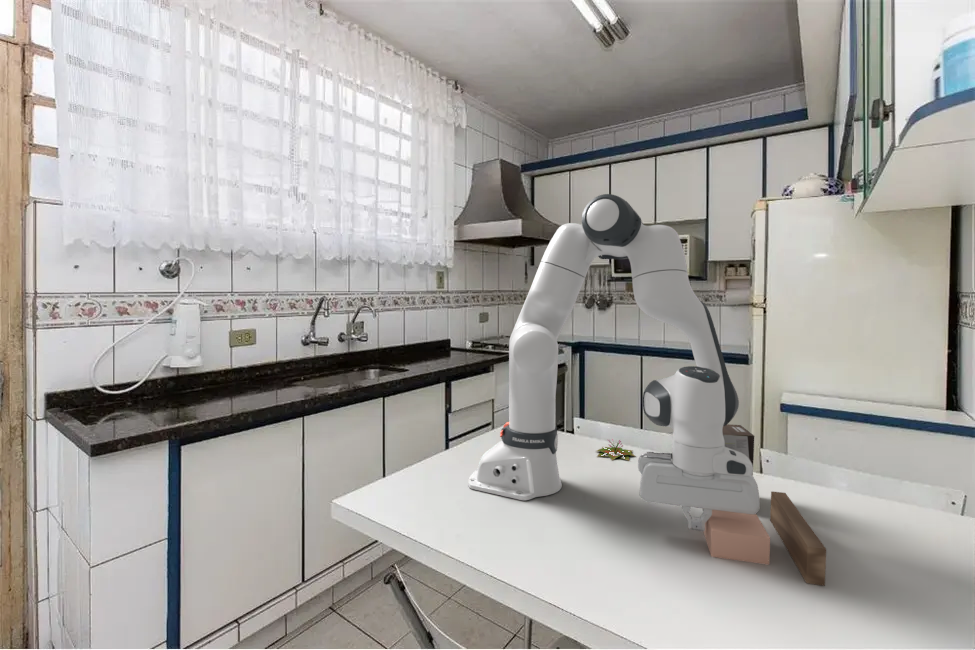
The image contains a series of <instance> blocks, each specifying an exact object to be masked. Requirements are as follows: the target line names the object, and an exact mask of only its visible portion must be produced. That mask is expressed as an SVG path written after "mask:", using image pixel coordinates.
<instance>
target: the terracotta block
mask: <svg viewBox="0 0 975 650" xmlns="http://www.w3.org/2000/svg"><path fill="white" fill-rule="evenodd" d="M702 532H703V534H704V535H703V536H704V538H705V540H706V541H705V542H706V545H707V547H708V550H709V554H710V557H711V558H719V559H727V560H733V561H739V562H740V561H741V562H746V563H755V564H763V565H767V566H768V565H770V554H771V553H770V552H771V537H770V535H769V533H768V532H767V530H766V528H765V527H764V525H763V523H762V521H761V520H760V518H759V517H758V515H757V513H756V514H754V515H752V514H744V513H736V512H728V511H719V510H712V515H711V517H710V518H709V519H708V521H707V522H706V523H705V531H702Z"/></svg>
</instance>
